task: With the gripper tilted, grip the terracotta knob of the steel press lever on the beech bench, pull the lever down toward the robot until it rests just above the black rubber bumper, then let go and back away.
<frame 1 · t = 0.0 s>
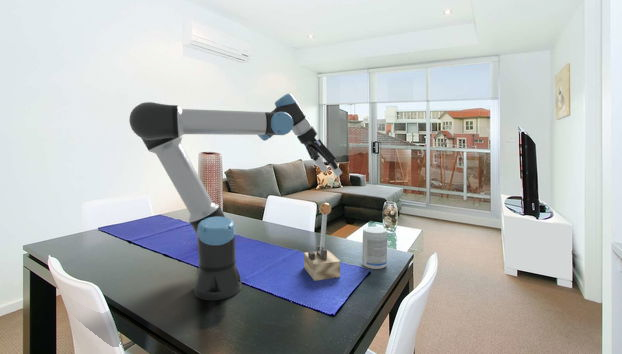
hand: (332, 173, 129), 36 cm above the table, tool tilted 35°, fingers open, 13 cm apart
press bench: (321, 271, 117), on the table
supplement tub: (374, 265, 124), on the table
press lever: (323, 229, 115), point 17 cm above the table, hinge at -4.0°
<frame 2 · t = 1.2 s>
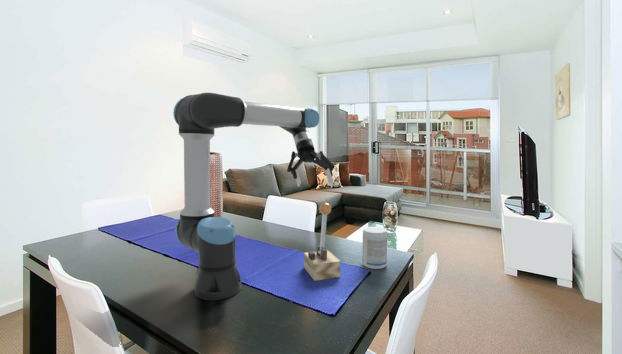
hand: (315, 183, 123), 32 cm above the table, tool tilted 45°, fingers open, 13 cm apart
nothing on the table moved.
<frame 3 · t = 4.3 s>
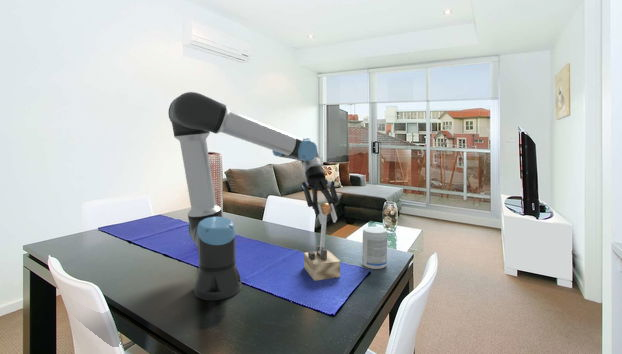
hand: (328, 221, 111), 21 cm above the table, tool tilted 45°, fingers closed on press lever, 4 cm apart
press lever: (323, 229, 115), point 17 cm above the table, hinge at -3.9°, touching gripper
everything else where it was.
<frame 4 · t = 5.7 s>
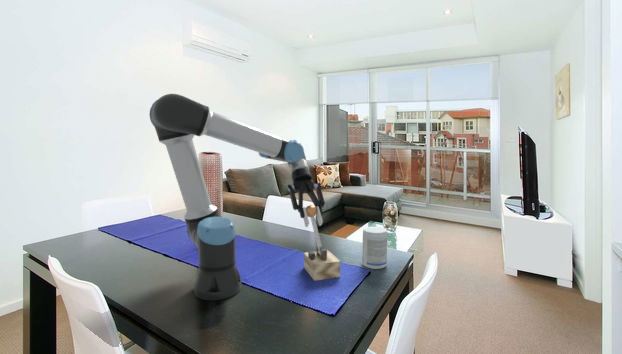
hand: (314, 224, 110), 20 cm above the table, tool tilted 45°, fingers closed on press lever, 4 cm apart
press lever: (315, 231, 114), point 16 cm above the table, hinge at 15.2°, touching gripper
everything else where it was.
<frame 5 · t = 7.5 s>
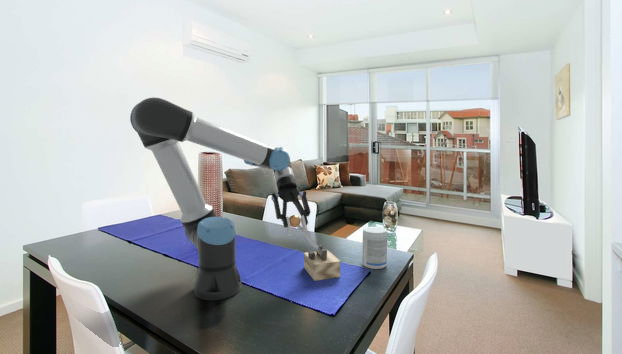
hand: (298, 233, 108), 17 cm above the table, tool tilted 45°, fingers closed on press lever, 5 cm apart
press lever: (307, 236, 113), point 15 cm above the table, hinge at 39.0°, touching gripper
everything else where it was.
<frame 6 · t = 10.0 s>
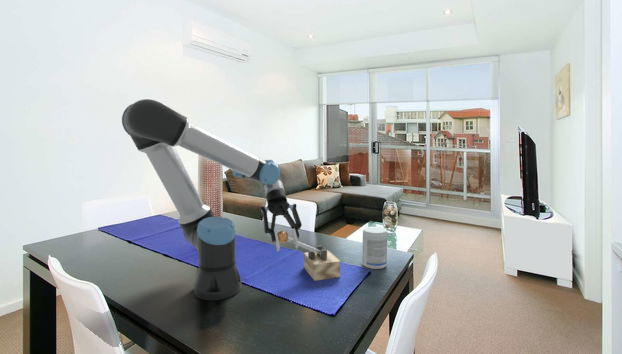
hand: (287, 247, 107), 13 cm above the table, tool tilted 45°, fingers closed on press lever, 6 cm apart
press lever: (301, 244, 113), point 12 cm above the table, hinge at 62.7°, touching gripper
everything else where it was.
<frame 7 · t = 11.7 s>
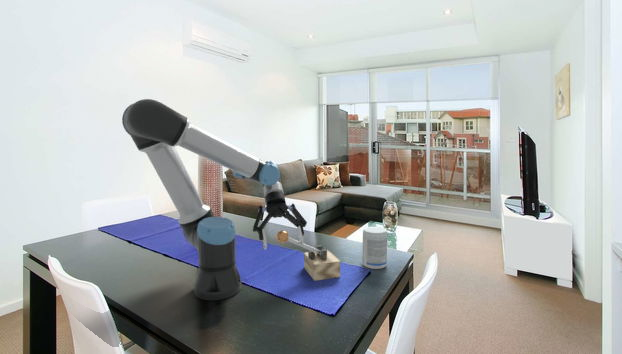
hand: (284, 245, 108), 13 cm above the table, tool tilted 45°, fingers open, 12 cm apart
press lever: (301, 244, 113), point 12 cm above the table, hinge at 62.4°, touching gripper
everything else where it was.
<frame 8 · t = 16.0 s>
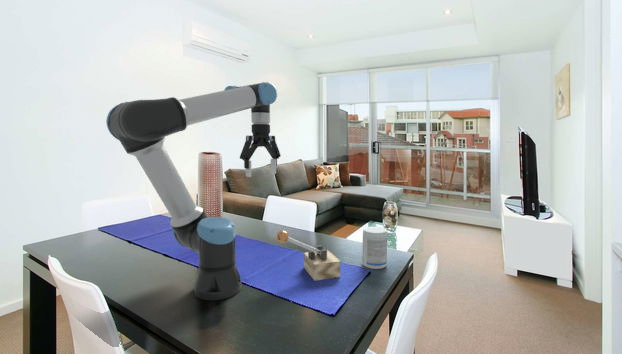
hand: (261, 175, 129), 35 cm above the table, tool pointing down, fingers open, 13 cm apart
press lever: (301, 244, 113), point 12 cm above the table, hinge at 62.3°
everything else where it was.
at the end: press lever at +62° (first picture: -4°); the gripper is holding nothing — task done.
